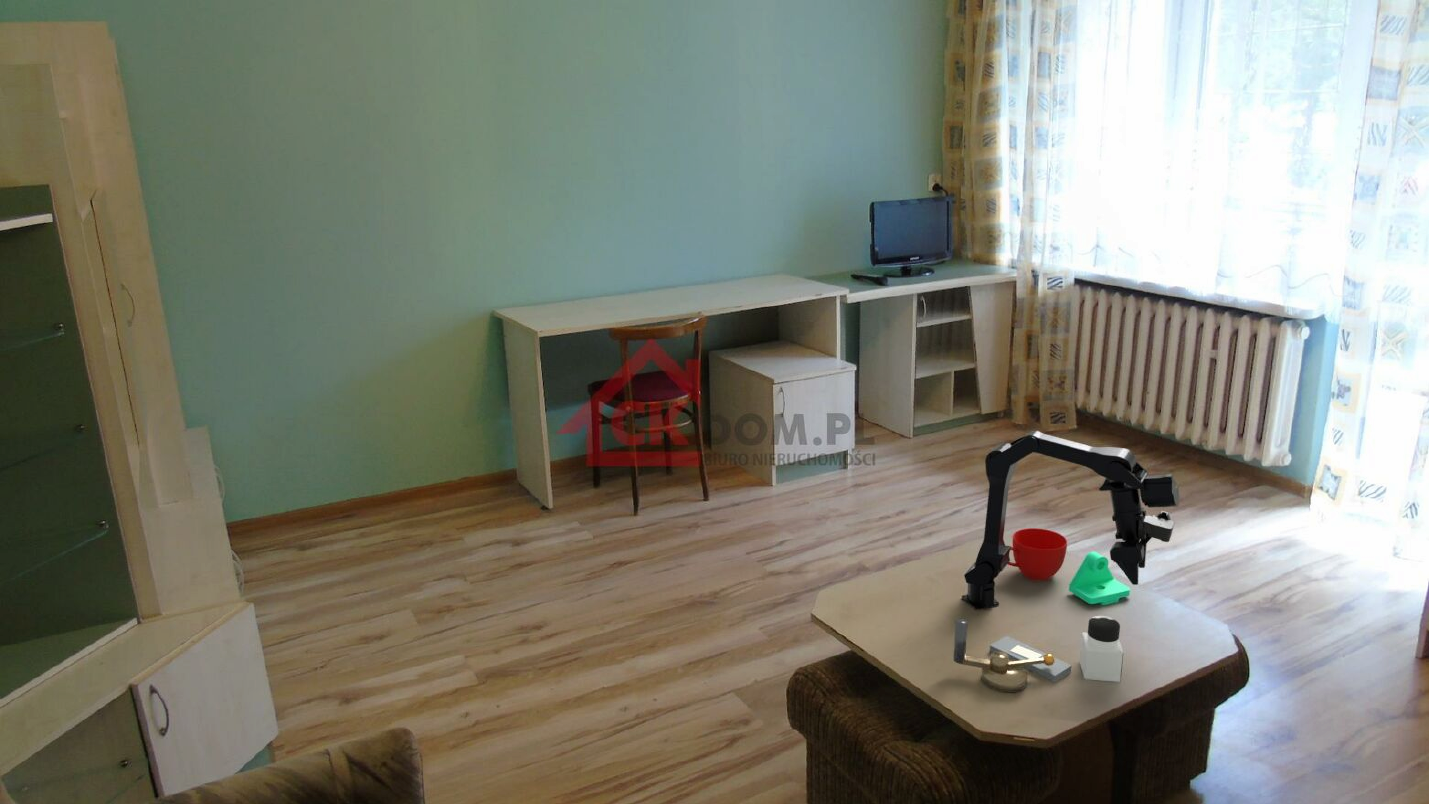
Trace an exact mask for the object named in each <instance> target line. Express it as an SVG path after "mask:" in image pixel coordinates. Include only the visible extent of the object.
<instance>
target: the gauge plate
mask: <svg viewBox="0 0 1429 804" xmlns="http://www.w3.org/2000/svg"><path fill="white" fill-rule="evenodd" d="M995 651H1001V652H1004V653H1006V654H1008V656H1009V659H1011V660H1014V661H1021V660H1029V659H1037V658H1043V656H1044V655H1046V654H1047V653H1045V652H1042V651H1041V650H1039V649H1036V648H1034V647H1032V646H1030V645H1027V644H1025V643H1024V642H1022V641H1018V640H1017V639H1014V638H1013V637H1010V636H1008V635H1006V636H1004V637H1002V638H1000V639H999V640H997V641H995V642H993V643H992V644H990V645H989V652H991V653H992V652H995ZM1054 659H1055V662H1054V664H1053V665H1051V666H1047V665H1045V664H1044V663H1042V664H1034V665H1026V666H1025V668H1026V669H1027V671H1029V672H1032V673H1034V674H1036V675H1039V676H1041V677H1042V678H1045V679H1047V680H1049V681H1051V682H1052V683H1056V682H1058V681H1059V680H1060V679H1063V678H1064V677H1065V676H1067V675H1068V674H1070V673H1072V665H1071V664H1069V663H1067V662H1065V661H1062V660H1061V659H1058V658H1056V657H1054Z"/></svg>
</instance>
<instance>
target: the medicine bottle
mask: <svg viewBox="0 0 1429 804" xmlns="http://www.w3.org/2000/svg"><path fill="white" fill-rule="evenodd" d="M1087 627H1088V628H1087V632H1082V634H1081V641H1080V651H1079V665H1080V667H1081V671H1082V676H1083V679H1084V680H1091V681H1104V682H1113V683H1114V682H1115V683H1121V680H1122V671H1123V660H1124V649H1123V647H1122V644H1121V641H1120V631H1121V630H1120V629H1121V624H1120V623H1119V622H1118V621H1117V620H1116V619H1114V618H1112V617H1110V616H1107V615H1096V616H1093V617H1090V619H1089V620H1088V626H1087Z"/></svg>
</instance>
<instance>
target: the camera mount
mask: <svg viewBox="0 0 1429 804" xmlns="http://www.w3.org/2000/svg"><path fill="white" fill-rule="evenodd" d="M1068 591H1069V592H1070V593H1072V594H1073V595H1074V596H1076V597H1077V598H1080V599H1081V600H1082V601H1084V602H1085V603H1088V604H1089V605H1095V604H1100V605H1102V606H1107V605H1111V604H1113V603H1114V604H1115V603H1118V602H1120V599H1121V598H1125V597H1130V593H1131V592H1130V591H1131V588H1130V587H1129V586H1127V585H1125V584H1123V583H1122V582H1120V581H1119V580H1117V579H1116V578H1114V576H1113V574H1112V572H1111V570H1110V568H1109V560H1108V558H1107V557H1105V556H1103V555H1102V554H1100V553H1098V552H1097V551H1090V552H1088V554H1086V556H1085V557H1084V559H1083V560H1082V563H1081V565H1080V566H1079V568H1078V569H1077V571H1076V573H1075V574H1074V576H1073V578H1072V580H1071V581H1070V583H1069V585H1068Z"/></svg>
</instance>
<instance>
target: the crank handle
mask: <svg viewBox="0 0 1429 804" xmlns="http://www.w3.org/2000/svg"><path fill="white" fill-rule="evenodd" d="M967 634H968V621H967V619H964V618H957V619H956V620H955V625H954V642H953V644H954V645H953V662H954V663H956V664H959V665H964V666H969V667H974V668H975V667H976V668H980V669H981V680H982V682H983V684H984V685H985V686H987V687H988V688H990V689H992V690H995V691H998V692H1002V693H1017V692H1020V691H1023V690H1024V689H1025V688H1027V685H1028V674H1029V673H1028V671H1029V670H1028V669H1026V668H1025V666H1026V665H1034V664H1042V663H1044V664H1045V665H1047V666H1051V665H1053V664H1054V662H1055V659H1054V658H1055V657H1054V655H1052V654H1050V653H1045V654H1046V655H1044V656H1043V658H1037V659H1029V660H1021V661H1014V660H1011V659H1009V656H1008V654H1006V653H1004V652H1001V651H995V652H991V653H990V656H989V657H990V659H988V658H983V657H979V656H978V657H976V656H971V655H967V654H966V653H967V638H968V637H967V636H968V635H967Z"/></svg>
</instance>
